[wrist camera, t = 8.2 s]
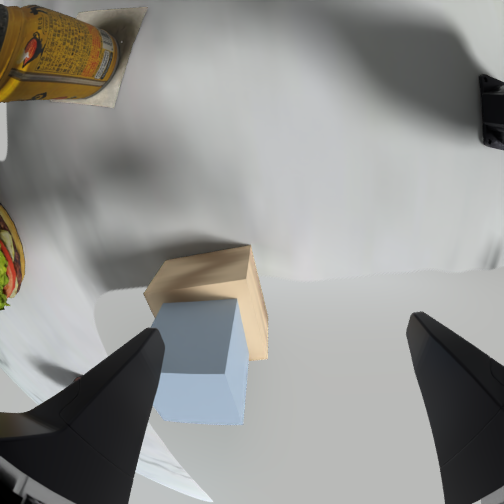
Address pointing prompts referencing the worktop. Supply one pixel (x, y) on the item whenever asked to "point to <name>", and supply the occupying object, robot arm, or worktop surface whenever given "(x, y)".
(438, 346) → the robot arm
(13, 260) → the food
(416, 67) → the worktop surface
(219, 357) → the blue block
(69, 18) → the condiment
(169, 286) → the tan block
